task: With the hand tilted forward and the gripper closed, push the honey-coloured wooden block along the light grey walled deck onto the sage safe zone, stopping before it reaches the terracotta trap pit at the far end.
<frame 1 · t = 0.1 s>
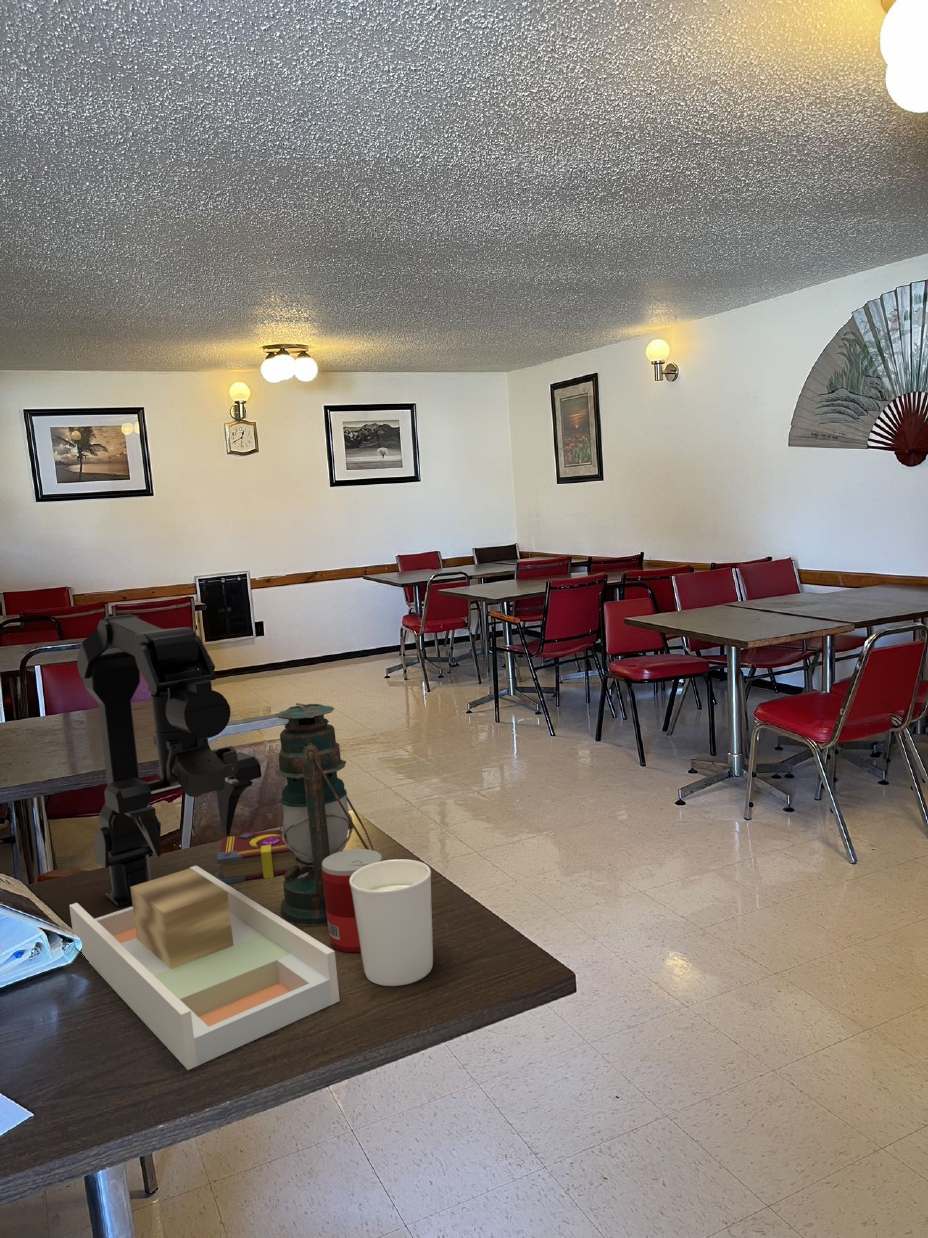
hand: (193, 845, 116), 15 cm above the table, tool pointing down, fingers open, 9 cm apart
candle holder: (399, 971, 109), on the table
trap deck: (195, 971, 113), on the table
canned food: (359, 941, 118), on the table
decorative book: (272, 867, 148), on the table
wooden block: (184, 942, 115), point 3 cm above the table, touching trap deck
lantern: (331, 907, 130), on the table
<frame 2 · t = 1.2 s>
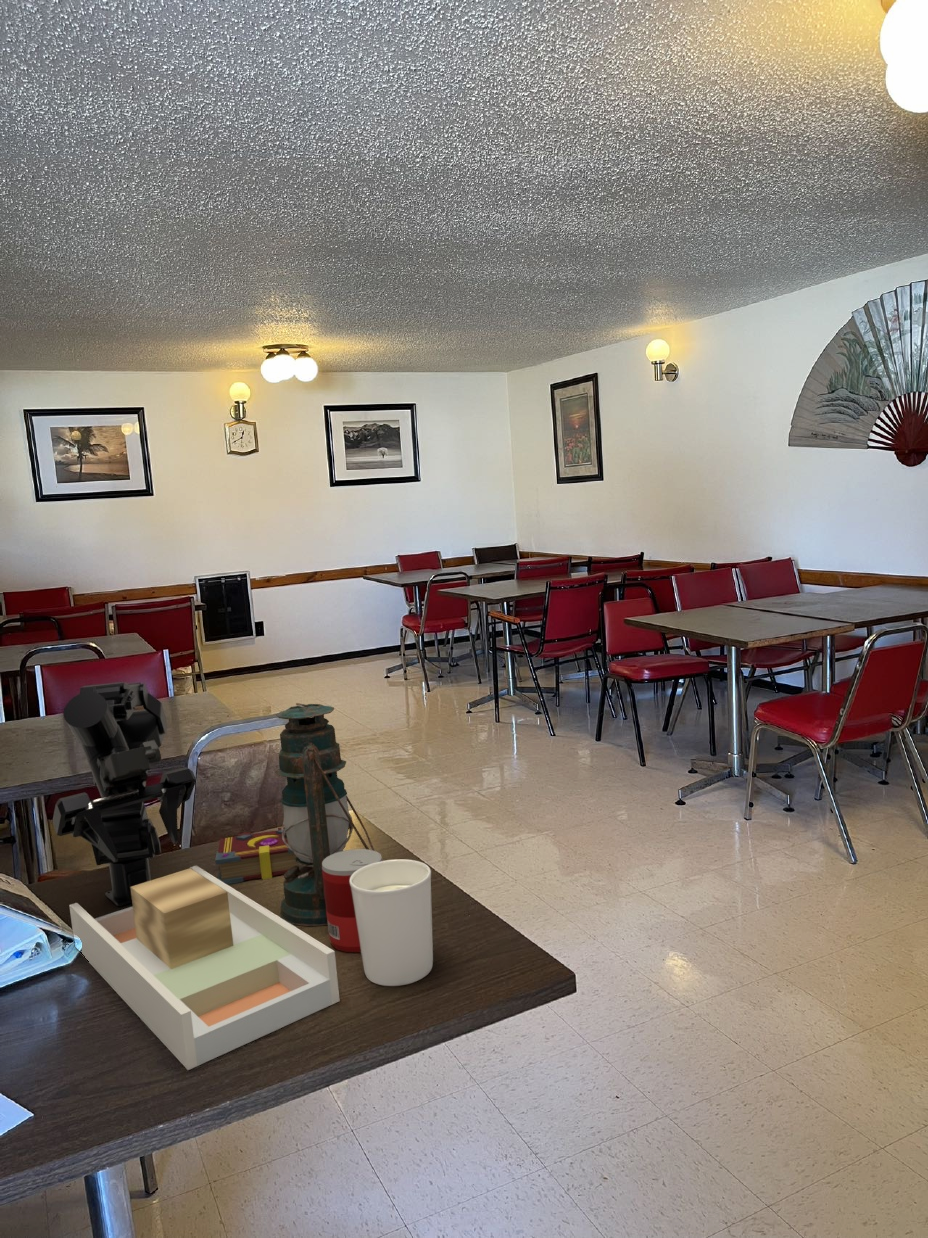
hand: (146, 851, 122), 12 cm above the table, tool tilted 45°, fingers open, 8 cm apart
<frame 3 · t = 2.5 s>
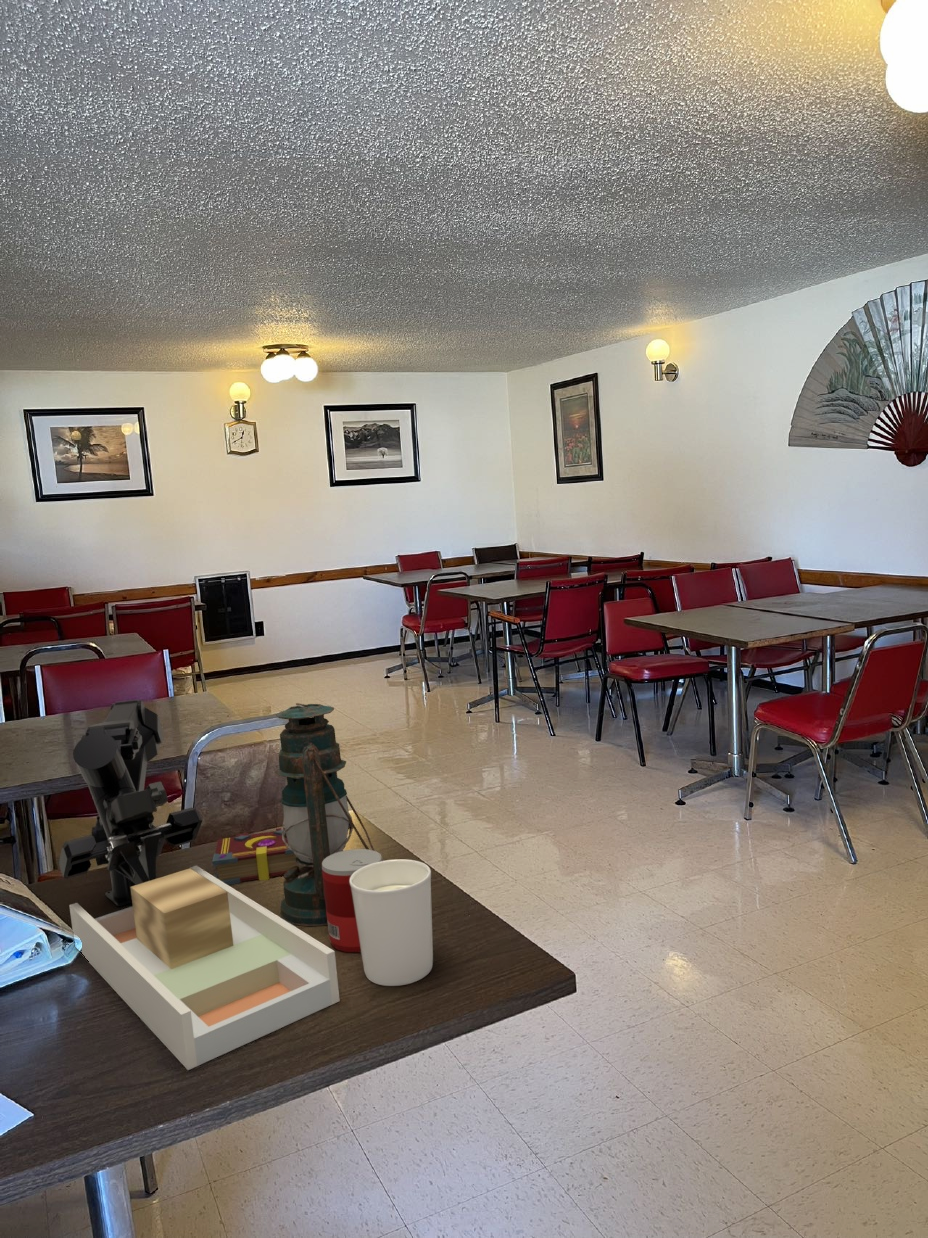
hand: (152, 894, 122), 7 cm above the table, tool tilted 45°, fingers closed
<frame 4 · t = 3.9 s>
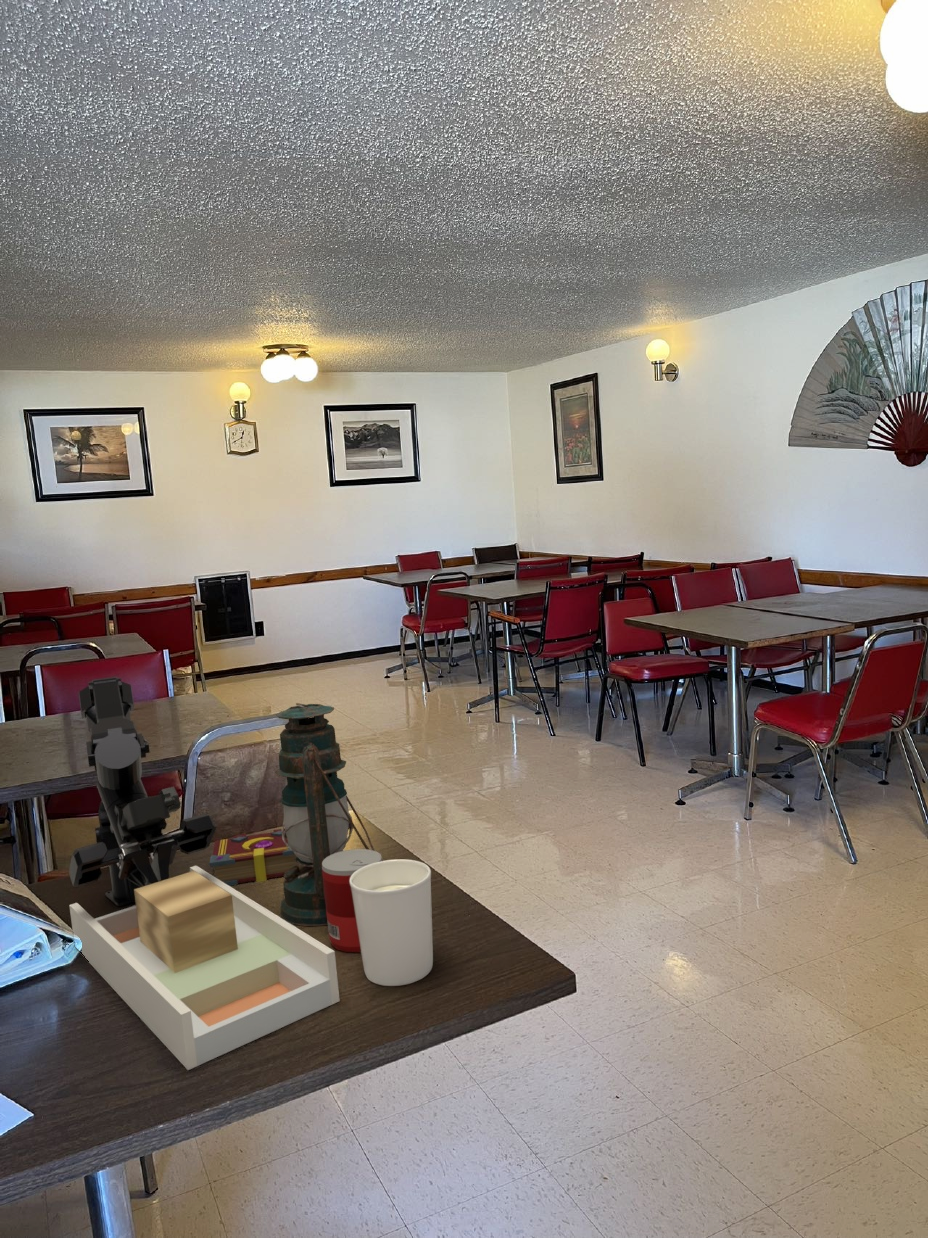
hand: (165, 903, 118), 7 cm above the table, tool tilted 45°, fingers closed, pressing on wooden block
wooden block: (188, 945, 114), point 3 cm above the table, touching gripper, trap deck
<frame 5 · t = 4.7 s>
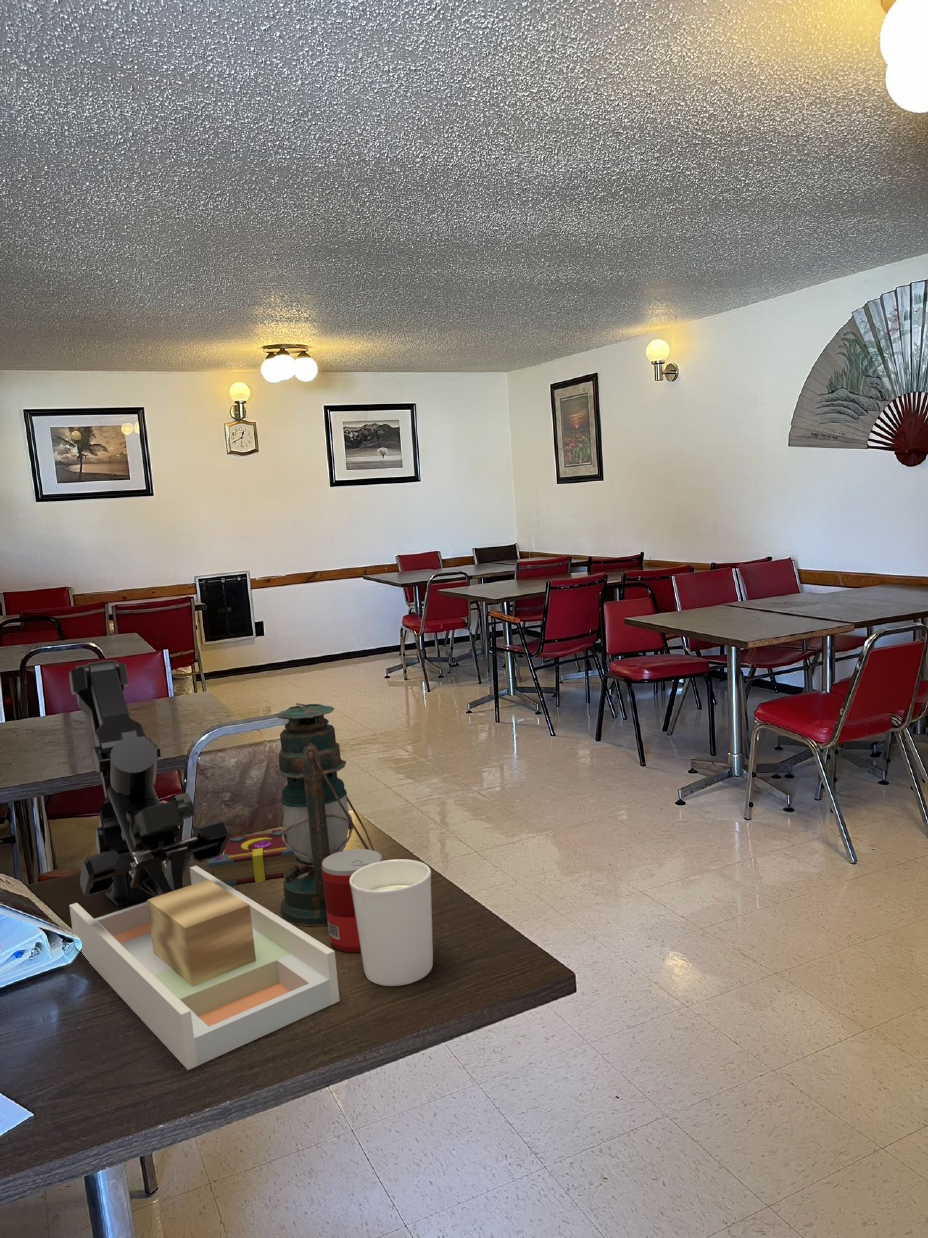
hand: (179, 913, 114), 7 cm above the table, tool tilted 45°, fingers closed, pressing on wooden block
wooden block: (203, 957, 110), point 3 cm above the table, touching gripper
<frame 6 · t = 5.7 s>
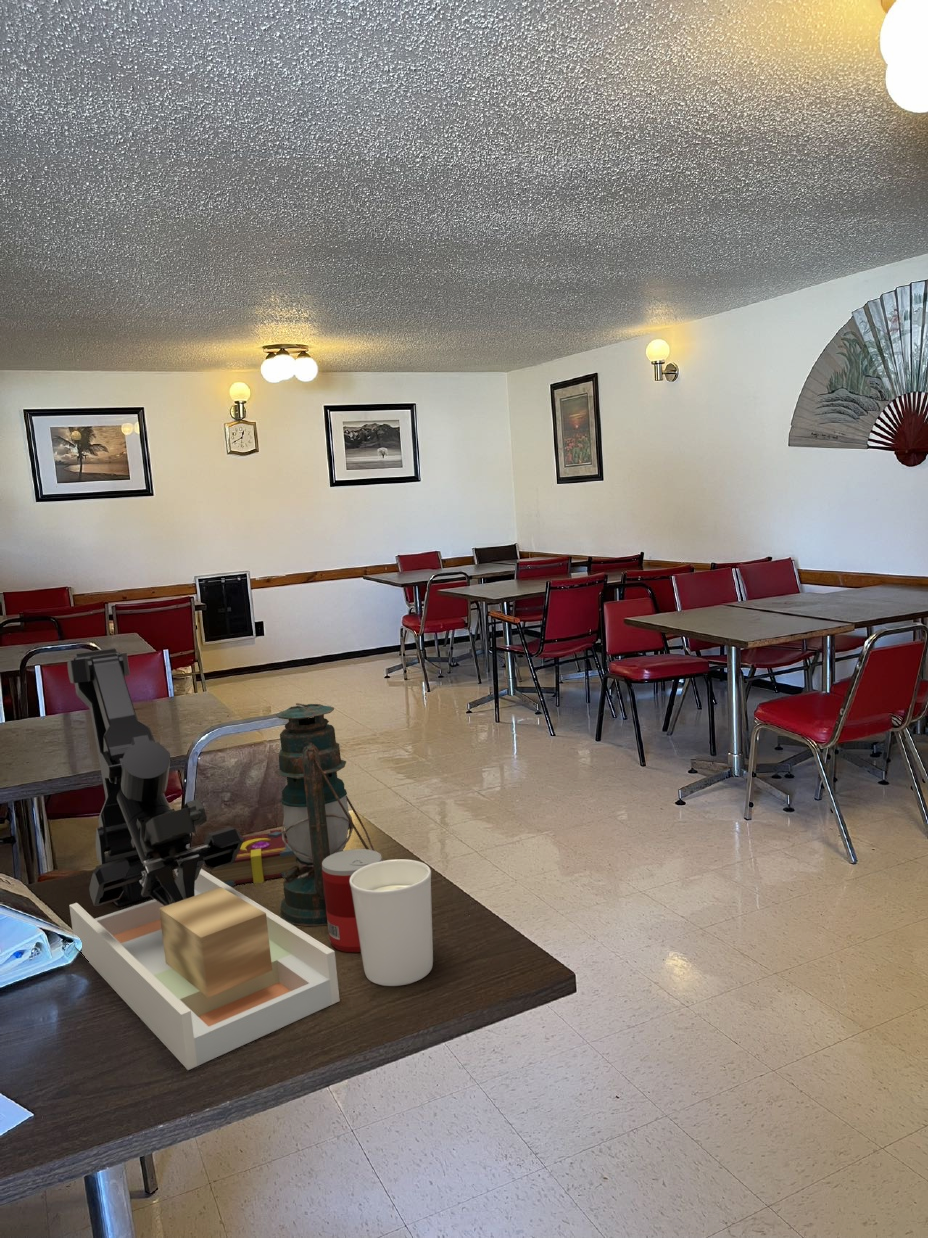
hand: (191, 923, 111), 7 cm above the table, tool tilted 45°, fingers closed, pressing on wooden block
wooden block: (218, 966, 107), point 3 cm above the table, touching gripper
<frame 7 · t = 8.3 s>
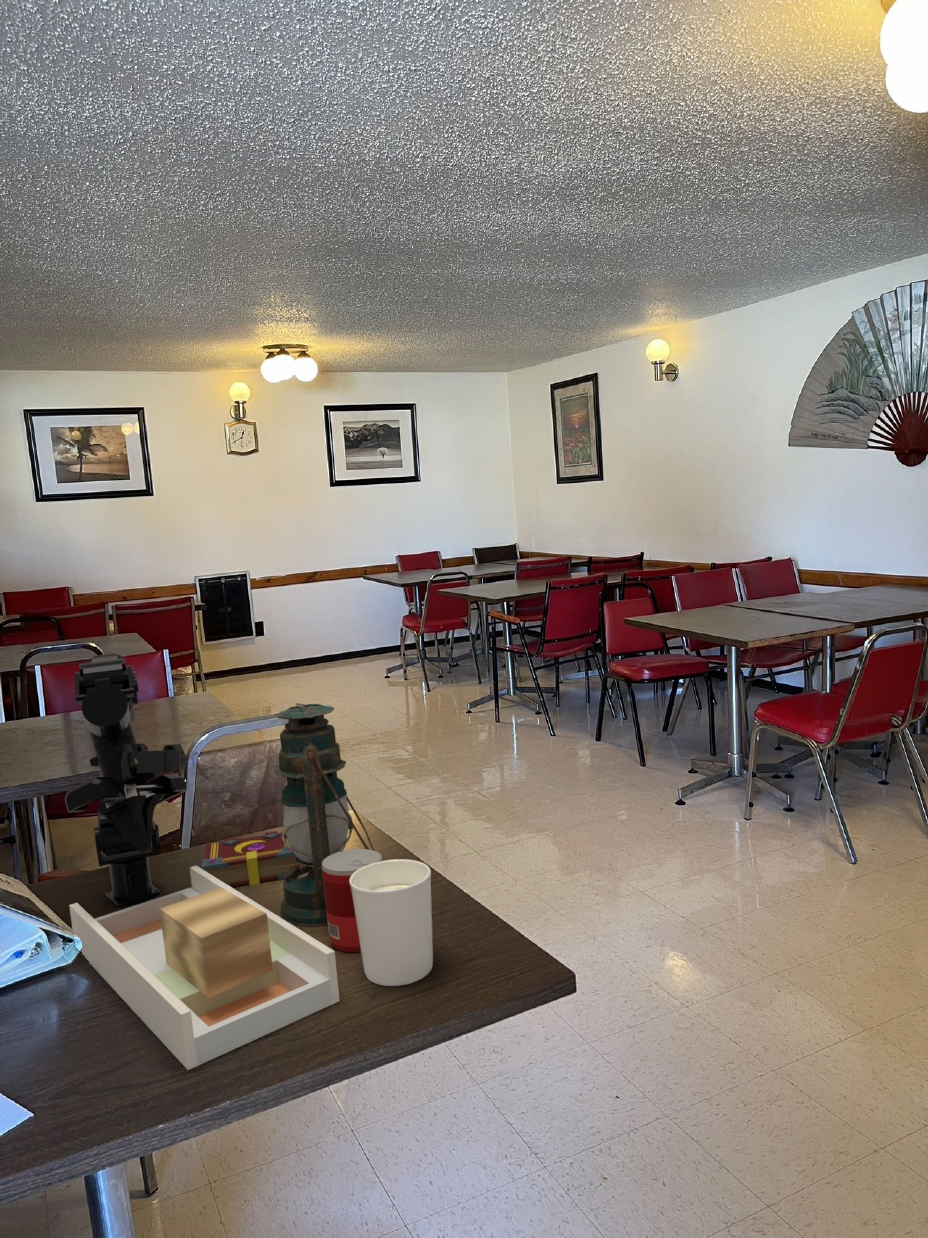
hand: (146, 851, 122), 12 cm above the table, tool tilted 25°, fingers closed
wooden block: (218, 967, 107), point 3 cm above the table, touching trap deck
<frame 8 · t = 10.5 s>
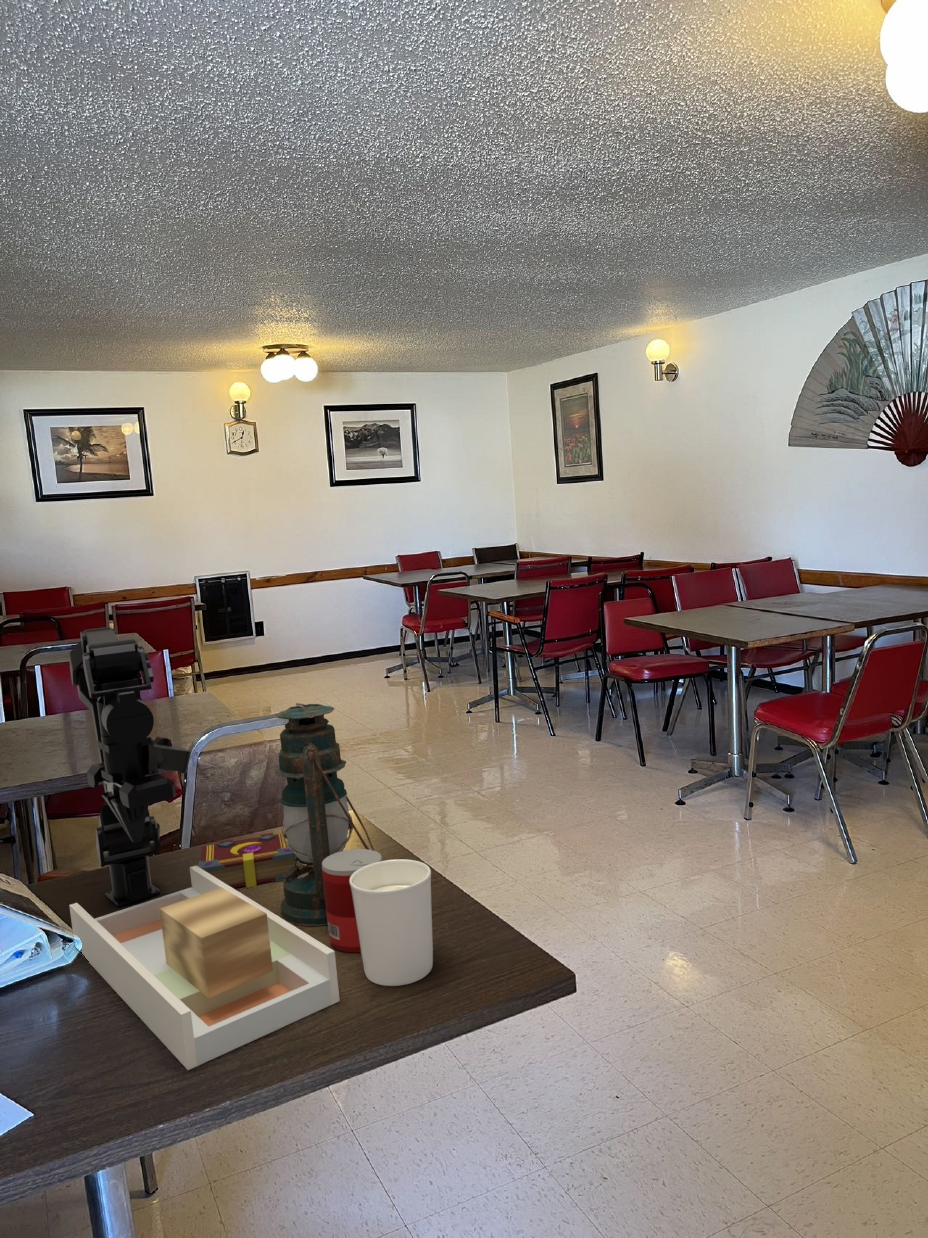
hand: (136, 841, 125), 13 cm above the table, tool pointing down, fingers closed
at the end: wooden block inside the target area (0.5 cm from its centre), point 3.0 cm above the table; wooden block tilted 0° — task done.
